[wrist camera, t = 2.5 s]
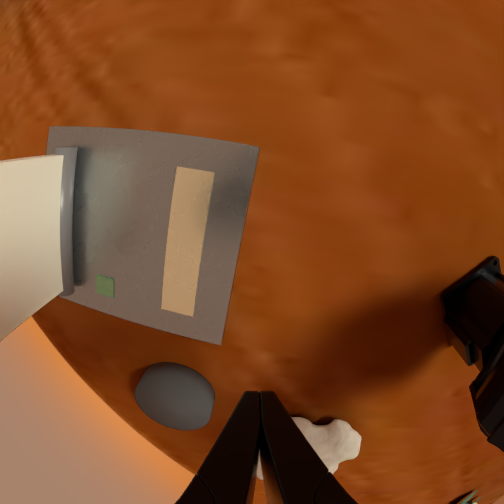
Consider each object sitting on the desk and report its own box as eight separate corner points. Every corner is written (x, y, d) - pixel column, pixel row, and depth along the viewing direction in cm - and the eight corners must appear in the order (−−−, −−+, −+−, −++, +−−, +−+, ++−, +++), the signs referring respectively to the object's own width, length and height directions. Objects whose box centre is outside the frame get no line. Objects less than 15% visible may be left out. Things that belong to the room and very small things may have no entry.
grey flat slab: (260, 147, 17) (259, 146, 16) (222, 337, 22) (220, 345, 21) (57, 126, 18) (48, 126, 17) (54, 287, 22) (47, 292, 21)
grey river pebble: (182, 350, 23) (174, 368, 21) (230, 402, 25) (226, 420, 22) (129, 373, 25) (120, 389, 22) (176, 418, 26) (170, 435, 24)
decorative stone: (352, 393, 24) (210, 416, 28) (354, 421, 20) (198, 440, 24) (367, 456, 25) (247, 471, 29) (368, 481, 22) (239, 493, 26)
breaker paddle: (82, 147, 17) (-55, 163, 6) (78, 289, 21) (-16, 370, 10) (64, 146, 17) (-66, 162, 6) (62, 283, 21) (-32, 358, 10)
